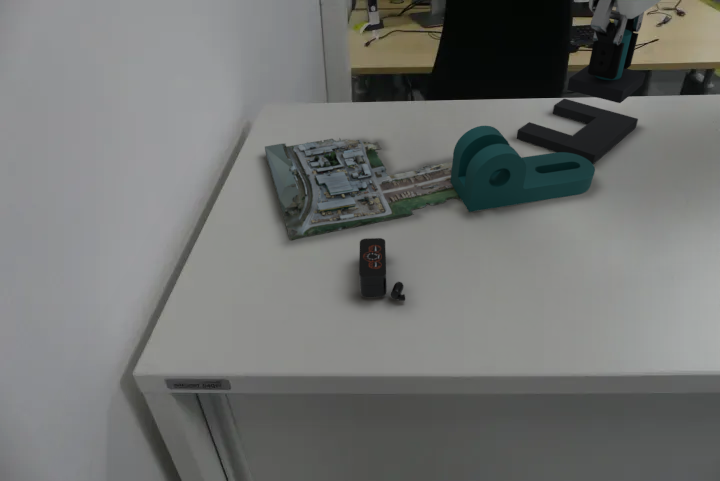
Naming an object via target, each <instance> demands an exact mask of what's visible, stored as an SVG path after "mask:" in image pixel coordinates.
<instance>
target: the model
mask: <svg viewBox="0 0 720 481" xmlns="http://www.w3.org/2000/svg"><path fill="white" fill-rule="evenodd" d="M381 149H382V147H381V146H380V144H379V142H378V141H376V142H373V143H371V142H366V141H363V140H361V139H356V140H355V139H341V138H340V137H339V140H335V139H333V138H328V139H323V140H317V141H310V142H304V143H300V144H299V143H298V144H293V145H288V146H287V143H276V144H270V145H265V146H264V152H265V156H266V157H265V158H266V160H267V163H268V164H267V165H268V167H269V170H270V174H271V177H272V178H271V179H272V181H273V184H274V188H275V191H276V195H277V198H278V202H279V206H280V209H281V213H282V216H283V218H284V223H285V227H286V231H287V234H288V237H289V240H290V241H293V240H297V239H302V238H306V237H313V236H317V235H321V234H322V235H323V234H326V233H331V232H337V231H341V230H345V229H351V228H355V227H356V228H357V227H360V226H365V225H370V224H375V223H379V222H385V221H390V220H395V219H400V218H404V217H405V218H406V217H409V216H412V215H415V214H414V212H413V211H414V210H418V209H423V208H425V207H426V206H427V205H429V206H431V207H433V206H437V205H442V204H445V203H446V202H447V201H448V200H449V201H450V200H453V199H454V200H458V201H460V200H461V198H460V197H459V195H458V193H457V192H456V190H455V189H454V187H453V185H452V184H451V182H450V181H451V171H452V162H453V160H452V161H448V162H442V163H437V164H432V165H426V166H423V167H421V168H418V169H416V170H411V171H406V172H400V173H395V174H388V173H387V168H386V166H385V165H384V163H383V161H382V160H381V158H380V157H379V155H378V151H376V150H381ZM412 210H413V211H412Z"/></svg>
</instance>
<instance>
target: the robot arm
mask: <svg viewBox="0 0 720 481" xmlns="http://www.w3.org/2000/svg"><path fill="white" fill-rule="evenodd" d="M661 1H662V0H588V8H589V10H590V11H591V12H592V13H593V15H592V18H591V21H590V27H591V29H593V30H594V33H593V37H592V39H593V43H592V48H591V53H590V57H589V63H588V65H589V67H588V73H589V74H590V75H595V76H599V77H603V78H608V79H614V78H615V77H616V76H617V73H618V69H619V65H620V60H621V56H622V52H623V48H624V44H625V43H621V41H622V38H623V34H624V30H625V29H626V30H629V31H631V32H632V35H631V39H630V43H629V47H628V51H627V55H626V59H625V64H624V69H629V68H630V67H631V65H632V62H633V58H634V53H635V50H636V46H637V41H638V37H639V32H640V30H641V28H642V23H643V19H644V15H645V12H647V11H648V10H649V9H651V8H653V7H654V6H655V5H657V4H658V3H660V2H661ZM613 8H615V10H613ZM612 20H613V21H612Z"/></svg>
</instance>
